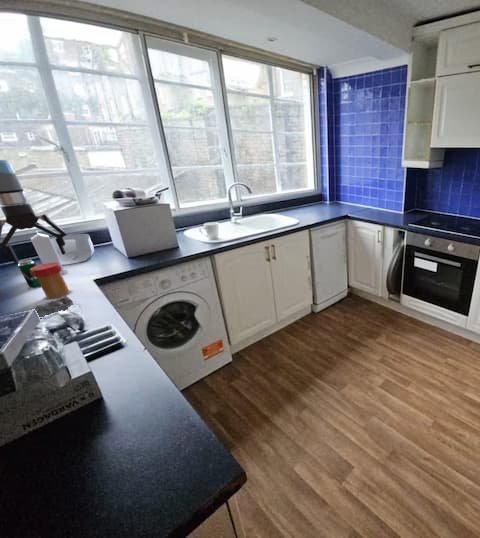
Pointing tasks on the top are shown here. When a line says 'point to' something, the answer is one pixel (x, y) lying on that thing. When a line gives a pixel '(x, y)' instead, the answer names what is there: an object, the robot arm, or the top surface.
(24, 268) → the soda can
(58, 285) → the jar
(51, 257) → the milk
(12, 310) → the top surface
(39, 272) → the lid
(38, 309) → the egg carton
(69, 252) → the bowl
